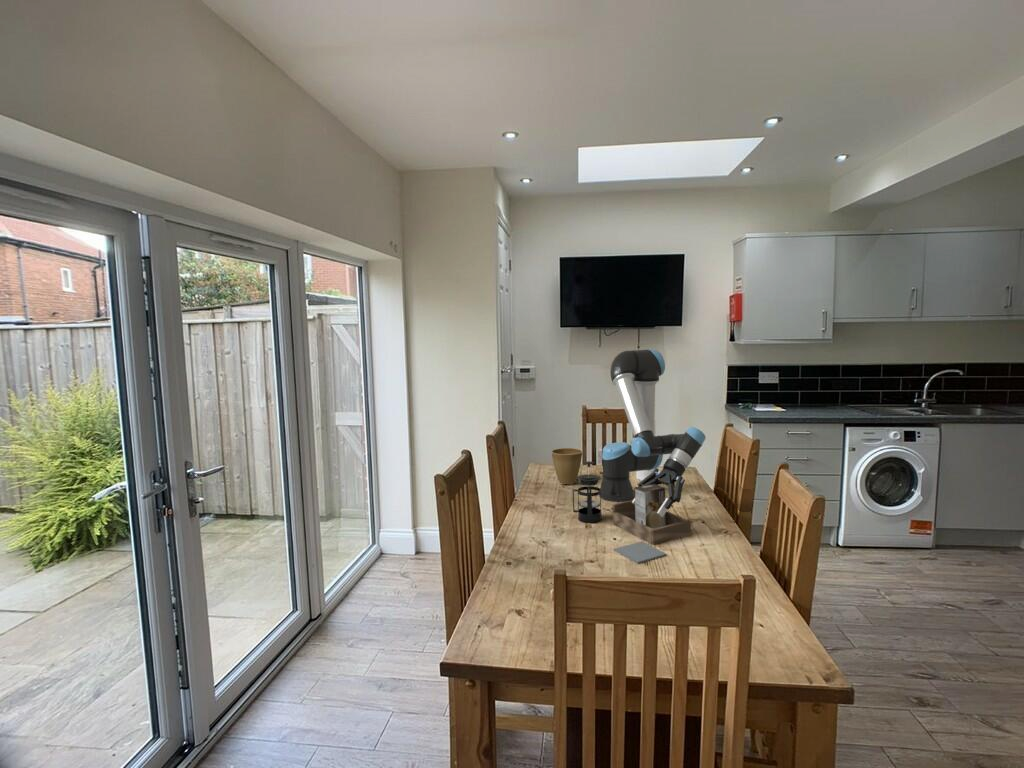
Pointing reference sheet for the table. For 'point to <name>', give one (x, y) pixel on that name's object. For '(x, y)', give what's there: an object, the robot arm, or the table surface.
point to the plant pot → (567, 464)
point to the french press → (588, 498)
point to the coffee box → (649, 505)
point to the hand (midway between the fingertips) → (646, 509)
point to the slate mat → (640, 552)
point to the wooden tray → (626, 521)
